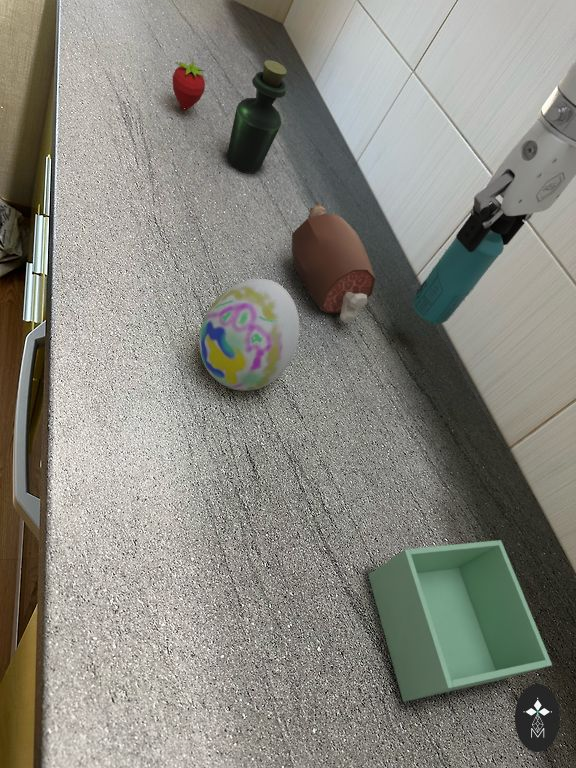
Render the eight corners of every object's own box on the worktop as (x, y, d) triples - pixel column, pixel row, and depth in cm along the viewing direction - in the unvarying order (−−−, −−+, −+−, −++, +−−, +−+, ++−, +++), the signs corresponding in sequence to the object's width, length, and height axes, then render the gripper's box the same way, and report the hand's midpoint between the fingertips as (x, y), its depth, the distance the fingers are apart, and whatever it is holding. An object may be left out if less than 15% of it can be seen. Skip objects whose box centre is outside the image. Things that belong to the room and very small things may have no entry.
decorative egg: (171, 353, 75) (198, 272, 63) (235, 318, 82) (269, 239, 71) (235, 419, 72) (275, 346, 61) (295, 376, 80) (340, 304, 69)
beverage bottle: (446, 336, 87) (532, 234, 72) (407, 325, 85) (487, 219, 70) (439, 305, 91) (520, 203, 76) (402, 295, 89) (477, 188, 74)
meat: (372, 332, 91) (404, 288, 84) (310, 335, 86) (338, 288, 78) (326, 243, 101) (351, 196, 93) (268, 241, 95) (289, 191, 87)
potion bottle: (264, 156, 109) (298, 64, 96) (264, 181, 105) (300, 88, 91) (222, 143, 107) (251, 46, 94) (221, 168, 102) (251, 70, 89)
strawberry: (169, 118, 105) (180, 65, 98) (165, 95, 109) (175, 42, 102) (200, 125, 108) (213, 73, 100) (195, 102, 112) (207, 51, 104)
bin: (458, 564, 72) (501, 539, 65) (500, 679, 65) (552, 665, 58) (368, 574, 66) (404, 549, 60) (402, 702, 59) (448, 688, 53)
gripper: (556, 141, 57) (457, 270, 71) (636, 137, 67) (535, 252, 80) (507, 96, 60) (421, 229, 73) (591, 99, 69) (501, 216, 83)
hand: (481, 240), depth 77 cm, fingers closed on beverage bottle, 6 cm apart
